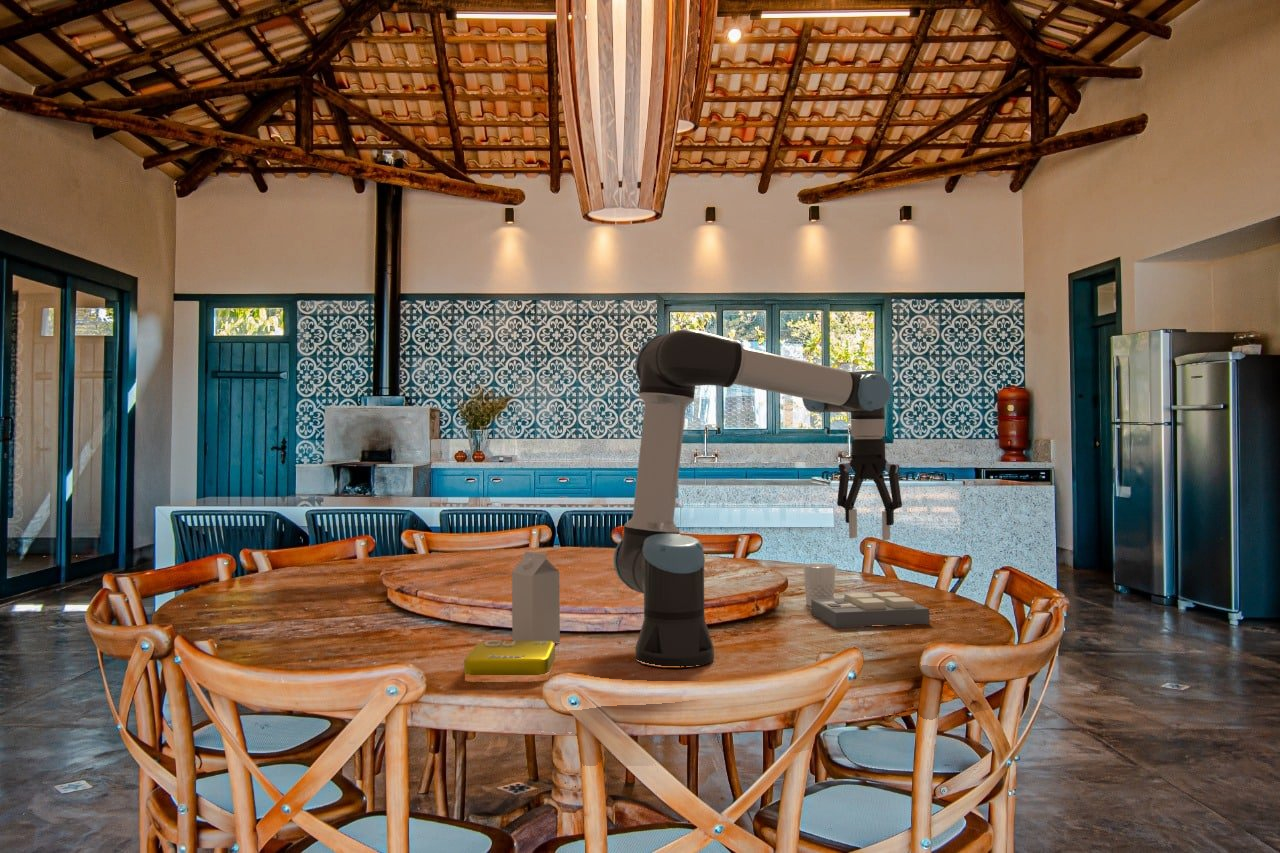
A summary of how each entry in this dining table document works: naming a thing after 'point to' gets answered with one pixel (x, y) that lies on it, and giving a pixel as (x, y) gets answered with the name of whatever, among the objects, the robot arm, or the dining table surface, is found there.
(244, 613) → the dining table surface
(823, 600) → the board
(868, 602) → the button
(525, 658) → the element tile
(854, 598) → the button
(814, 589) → the white cup
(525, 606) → the milk carton
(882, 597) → the button
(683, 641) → the robot arm
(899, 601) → the button
